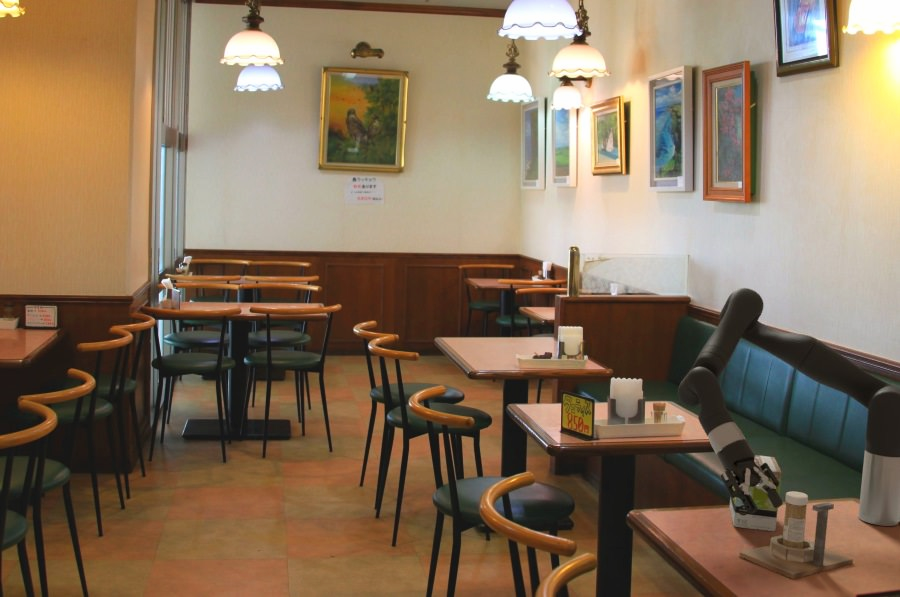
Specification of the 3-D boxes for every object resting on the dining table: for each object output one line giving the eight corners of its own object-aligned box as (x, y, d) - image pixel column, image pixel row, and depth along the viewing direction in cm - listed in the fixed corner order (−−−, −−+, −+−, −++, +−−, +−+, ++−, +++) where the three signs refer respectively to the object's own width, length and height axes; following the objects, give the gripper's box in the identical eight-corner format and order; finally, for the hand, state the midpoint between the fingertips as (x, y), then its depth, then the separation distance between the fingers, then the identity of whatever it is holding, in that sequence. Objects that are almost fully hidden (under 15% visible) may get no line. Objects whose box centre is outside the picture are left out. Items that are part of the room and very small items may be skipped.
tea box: (777, 532, 236) (782, 471, 235) (732, 527, 238) (738, 466, 237) (770, 513, 251) (775, 455, 249) (728, 508, 253) (733, 451, 251)
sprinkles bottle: (782, 548, 222) (787, 489, 221) (804, 552, 220) (809, 492, 219) (779, 555, 218) (784, 494, 217) (801, 559, 216) (807, 498, 215)
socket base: (798, 542, 230) (804, 483, 228) (852, 563, 218) (858, 500, 217) (739, 556, 219) (744, 493, 217) (792, 579, 207) (798, 513, 206)
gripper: (741, 451, 239) (776, 512, 231) (699, 458, 231) (734, 521, 223) (761, 435, 234) (798, 497, 226) (719, 441, 226) (756, 505, 218)
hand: (766, 509), depth 224 cm, fingers open, 8 cm apart
